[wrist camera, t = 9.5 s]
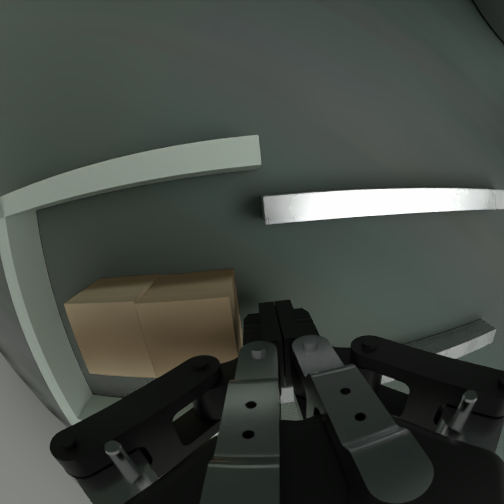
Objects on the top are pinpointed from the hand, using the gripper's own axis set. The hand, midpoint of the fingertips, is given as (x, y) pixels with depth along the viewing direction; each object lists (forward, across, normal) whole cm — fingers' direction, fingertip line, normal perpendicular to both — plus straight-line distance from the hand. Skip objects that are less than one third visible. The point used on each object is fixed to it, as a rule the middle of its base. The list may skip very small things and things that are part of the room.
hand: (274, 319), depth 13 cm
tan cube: (+2, +4, 0) cm, 4 cm away
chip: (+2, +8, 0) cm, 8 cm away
